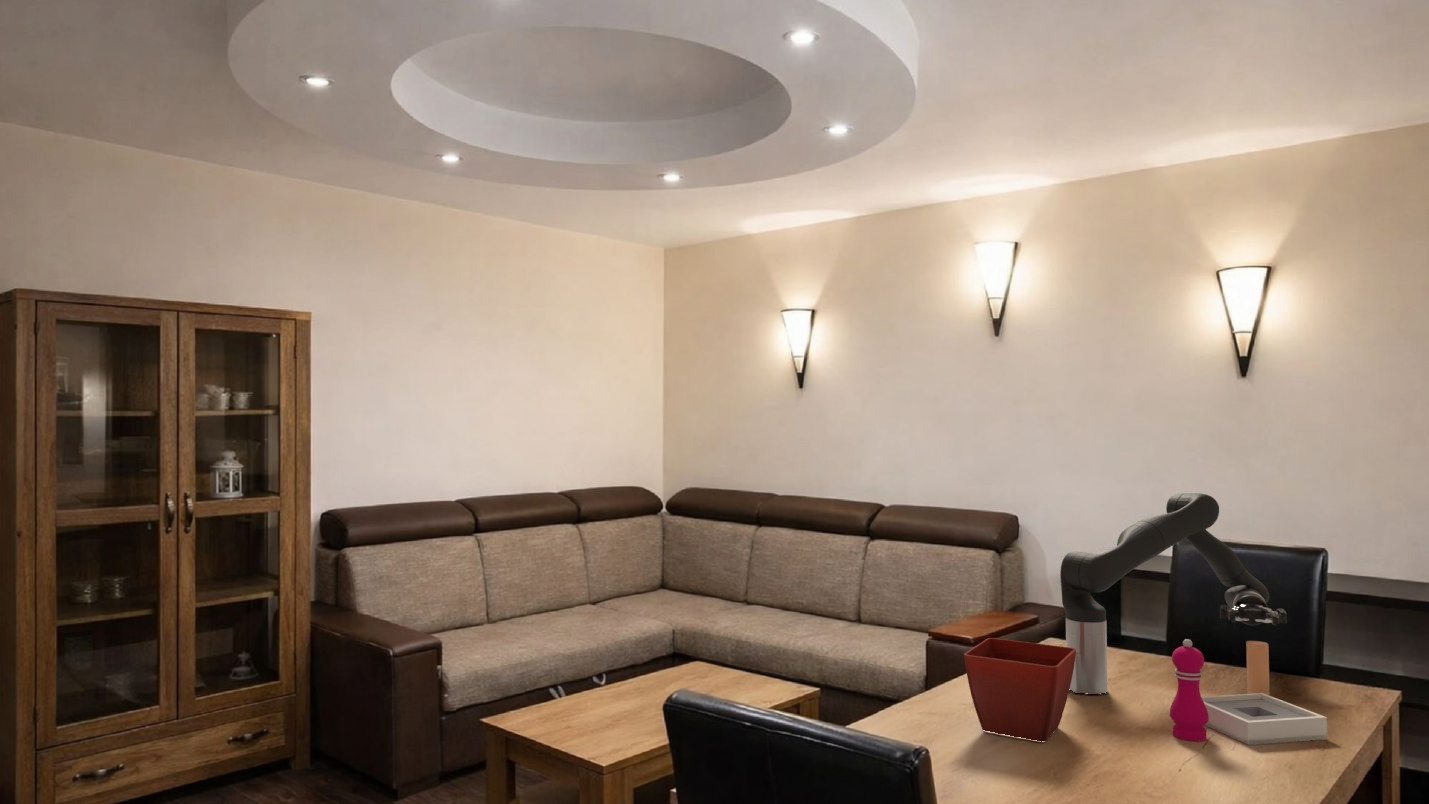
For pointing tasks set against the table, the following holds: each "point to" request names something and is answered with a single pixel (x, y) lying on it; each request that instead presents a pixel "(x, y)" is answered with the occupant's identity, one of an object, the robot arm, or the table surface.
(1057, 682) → the plant pot
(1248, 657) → the peg
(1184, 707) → the pepper mill
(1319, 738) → the tray
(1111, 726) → the table surface
